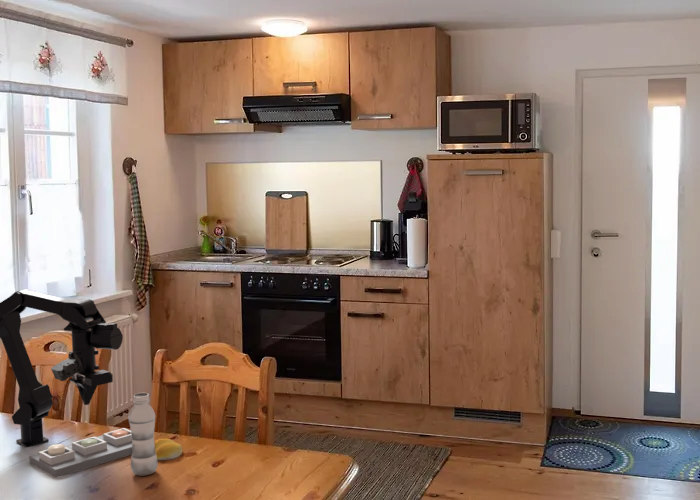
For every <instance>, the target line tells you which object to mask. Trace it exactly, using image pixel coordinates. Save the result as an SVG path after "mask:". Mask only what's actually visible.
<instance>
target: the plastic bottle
mask: <svg viewBox="0 0 700 500" xmlns="http://www.w3.org/2000/svg"><path fill="white" fill-rule="evenodd" d="M132 398H133V401H132V404H134V405H133V406H132V408H131V409H130V411H129V413H128V424H129V427H130V428H129V429H130V431H131V437H132V454H131V456H130V457H131V458H130V469H131V471H132V473H133V474H134V475H135V476H144V477H145V476H149V475H151V474H154V473H155V472H156V470H157V469H158V464H159V463H158V462H159V460H157V456H156V452H155V444H154V442H155V425H156V424H155V423H156V413H155V410H154V409H153V407H152V406H151V404H150V394H149V393H147V392H138V393H135V394H133V397H132Z"/></svg>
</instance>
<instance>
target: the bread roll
mask: <svg viewBox="0 0 700 500" xmlns="http://www.w3.org/2000/svg"><path fill="white" fill-rule="evenodd" d="M154 444H155V452H156V456H157V460H158V461H170V460H174V459H175V460H176V459H177V458H179V457H180V456H181V455H182V454H183V447H182V445H181V443H179V442H178V443H177V442H176V441H174V440H173V439H170V438H159V439H156V440H154Z"/></svg>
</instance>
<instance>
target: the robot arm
mask: <svg viewBox="0 0 700 500" xmlns="http://www.w3.org/2000/svg"><path fill="white" fill-rule="evenodd" d="M27 308H29V309H33V310H38V311H41V312H46V313H50V314H54V315H57V316H60V318H62V319H63V320H64V321H66V322H68V324H67V325H65V327H64V328H63V331H65V332H71V333H70V334H71V350H72V351H71V350H70V351H68V358H66V359H63V360H61V361H60V362H58V363H57V364H55V365H53V366H52V367H51V368H50V369H51V371H52V375H53V376H54V378H55V380H58V381H60V382H65V381H67V380H68V381H70V382H72V383H73V384H74V385H75V386H76V387H77V390H78V392H79V395H80V398H81V400H82V403H83V405H85V406H87V405H90V403H91V401H92V398H93V396H94V394H95V393H96V389H97V388H98V386H101V385H106V384H110V383H113V382H114V375H113V373H112V372H110V371H108V370H105V369H100V365H98V364H97V363H96V360H97V359H96V356H97V355H99V350H97V349H101V350H116V351H117V350H118V349H120V348H121V346H122V344H123V340H124V339H123V336H124V335H123V333H122V331H121V329H120V328H119V327H118V323H115V322H112V323H107V321H106V319H105V318H104V316H103V315H102V314H101V312H100V311H99V309H98V308H97V306H96V304H95V301H94V300H92V299H90V298H63V297H58V296H53V295H50V294H45V293H41V292H36V291H33V290H31V289H28V288H25V289H21V290H17V291H15V292H14V293H12V294H11V295H10V296H8V297H7V298H5V299H4V300H2V301H0V339H1V343H2V344H3V348H4V350H5V353H6V355H7V358H8V361H9V364H10V366H11V368H12V372H13V374H14V376H15V380H16V382H17V384H18V389H19V390H18V396H17V403H18V407H19V408H17V410H16V411H15V412H14V413H13V414H12V416H11V419H12V422H13V424H14V425H20V427H19V428H20V438H18V439H16V440H15V442H16V443H18V444H20V445H22V446H24V447H25V448H27V447H31V446H32V447H33V446H35V445H39V444H42V443H47V442H49V441H50V440H49V438H47V437H46V436H44V427H43V425H44V424H43V418H45V417H48V416H49V413H50V410H51V409H52V406H53V405H54V401H53V398H54V395H52V392H51V390H50V389H51V388H50V386H49V384H42V383H41V382H39V380H38V378H37V374H36V372H35V370H34V367H33V364H32V362H31V359H30V357H29V354H28V350H27V348H26V346H25V343H24V339H23V337H22V334H21V331H20V330H21V325H22V318H21V314H22V313H24V312H25V310H26V309H27Z"/></svg>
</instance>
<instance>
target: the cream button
mask: <svg viewBox="0 0 700 500" xmlns="http://www.w3.org/2000/svg"><path fill="white" fill-rule="evenodd" d="M65 446H66V445H65V444H62V443H61V444H60V443H57V444H52V445H49V446H48V447H47V449H48V455H50V456H56V455H60V454H63V453H65Z"/></svg>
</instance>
